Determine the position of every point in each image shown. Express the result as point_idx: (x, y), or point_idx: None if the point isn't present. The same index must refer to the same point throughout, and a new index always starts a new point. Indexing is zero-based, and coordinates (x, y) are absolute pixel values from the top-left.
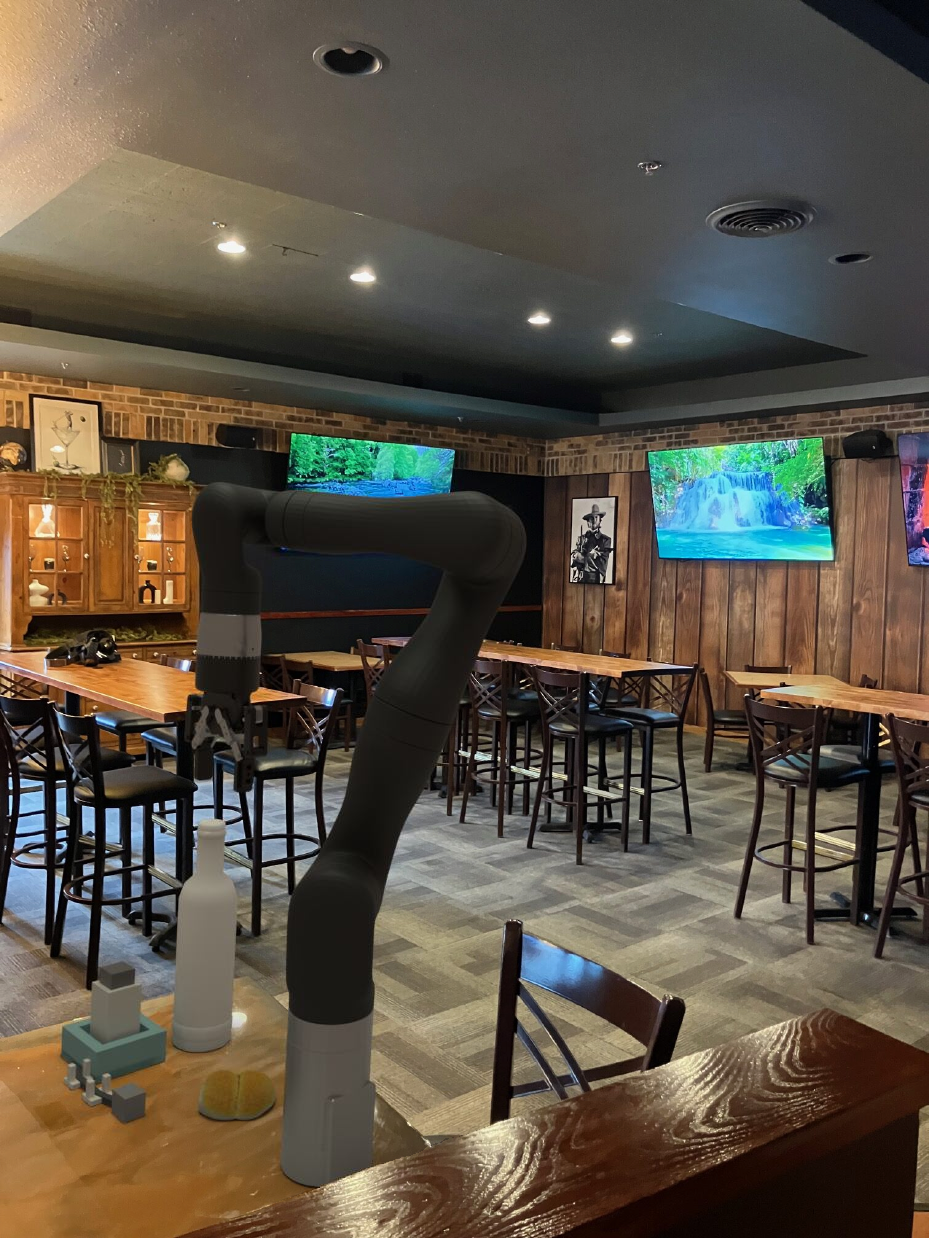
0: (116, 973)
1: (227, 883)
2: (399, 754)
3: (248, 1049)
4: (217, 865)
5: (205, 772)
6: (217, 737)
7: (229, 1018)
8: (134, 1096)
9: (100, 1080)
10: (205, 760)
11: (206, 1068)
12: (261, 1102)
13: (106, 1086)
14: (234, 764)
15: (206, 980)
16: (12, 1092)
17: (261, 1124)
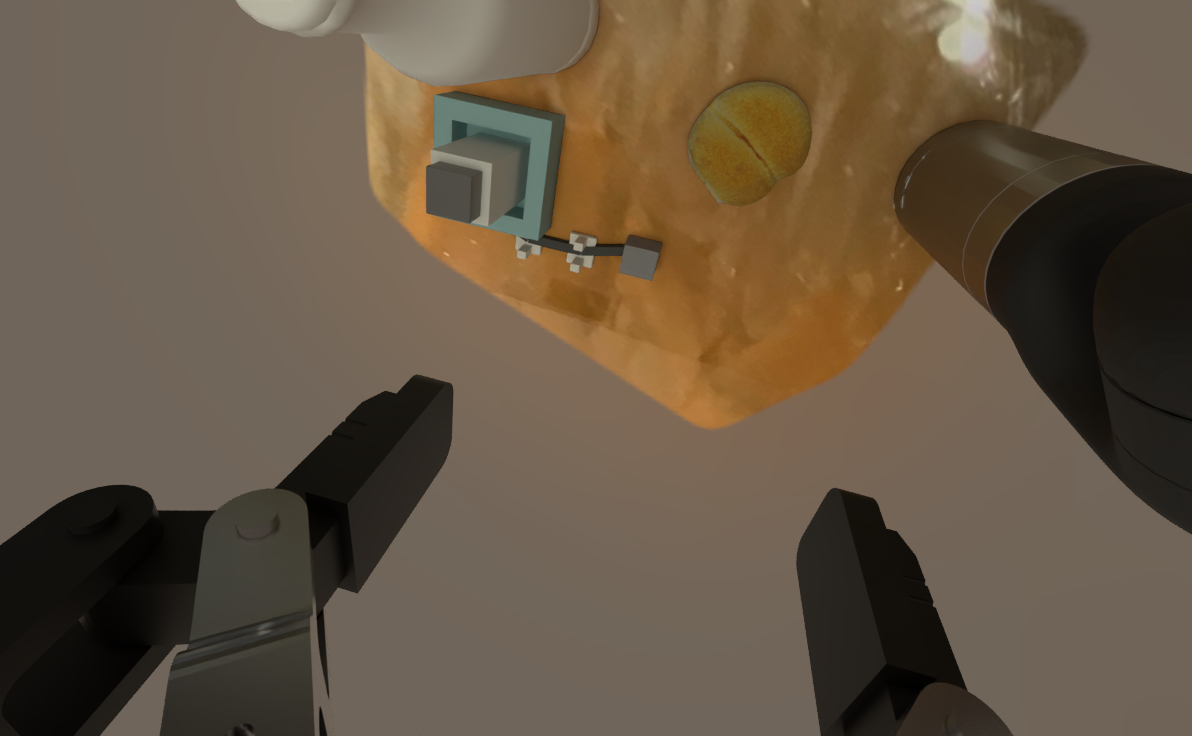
0: (469, 214)
1: None
2: None
3: None
4: None
5: (432, 441)
6: (313, 608)
7: None
8: (655, 267)
9: (550, 221)
10: (394, 496)
11: (633, 89)
12: (807, 151)
13: (585, 245)
14: (818, 709)
15: (555, 51)
16: (497, 294)
17: (817, 163)
